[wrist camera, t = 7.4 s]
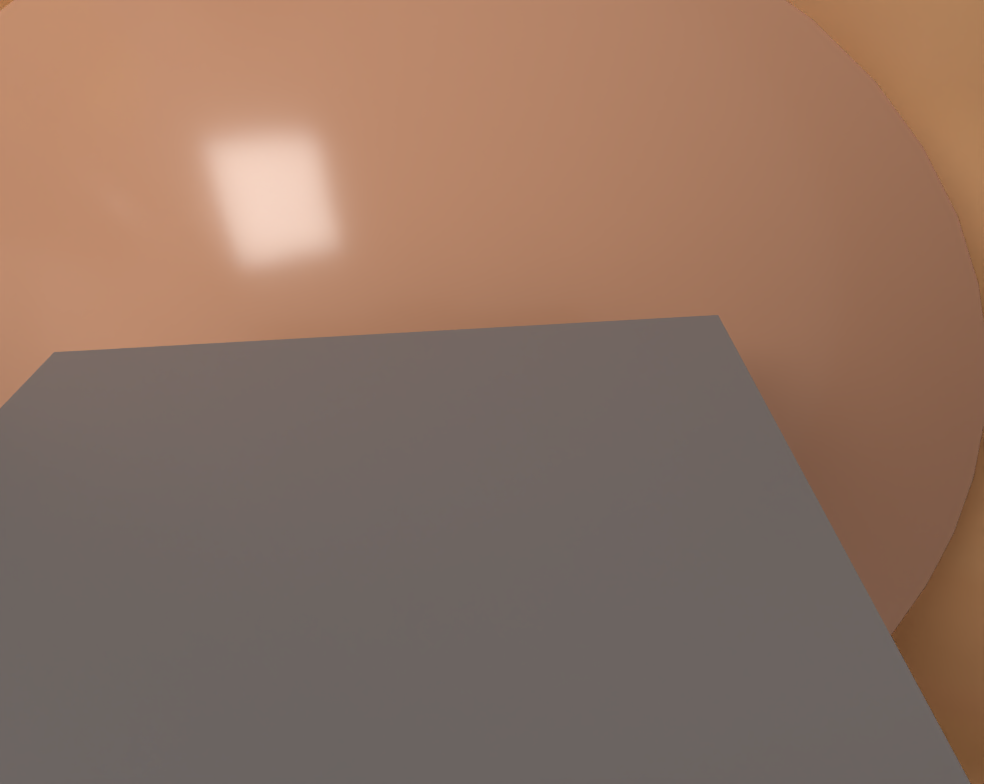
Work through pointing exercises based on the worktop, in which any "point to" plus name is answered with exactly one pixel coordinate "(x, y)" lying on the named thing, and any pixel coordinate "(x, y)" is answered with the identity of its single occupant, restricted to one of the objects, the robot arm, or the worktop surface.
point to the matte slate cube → (433, 570)
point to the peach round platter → (507, 208)
